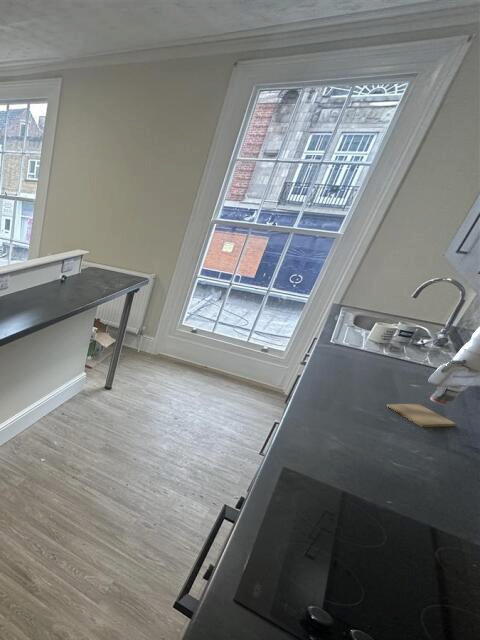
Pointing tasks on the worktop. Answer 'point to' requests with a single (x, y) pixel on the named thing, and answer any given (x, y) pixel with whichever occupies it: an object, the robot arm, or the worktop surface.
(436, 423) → the board
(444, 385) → the robot arm
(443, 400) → the pill bottle
